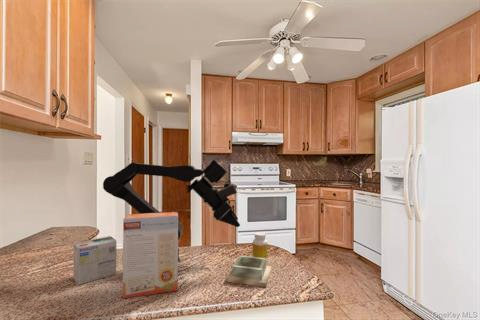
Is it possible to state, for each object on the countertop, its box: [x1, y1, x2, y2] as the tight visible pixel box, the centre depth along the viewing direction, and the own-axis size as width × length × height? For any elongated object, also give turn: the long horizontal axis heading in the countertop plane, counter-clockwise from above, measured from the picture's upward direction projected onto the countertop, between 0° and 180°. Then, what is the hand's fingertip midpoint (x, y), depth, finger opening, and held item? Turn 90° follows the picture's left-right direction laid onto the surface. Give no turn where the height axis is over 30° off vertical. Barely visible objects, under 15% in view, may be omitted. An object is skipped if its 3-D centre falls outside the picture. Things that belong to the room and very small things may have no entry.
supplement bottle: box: [252, 231, 269, 259], centre depth 88 cm, size 5×5×10 cm
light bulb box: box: [73, 235, 117, 286], centre depth 75 cm, size 11×7×11 cm, turn 135°
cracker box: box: [122, 211, 179, 299], centre depth 67 cm, size 14×6×21 cm, turn 106°
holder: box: [225, 254, 272, 288], centre depth 77 cm, size 12×12×4 cm
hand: (238, 222), depth 87 cm, fingers open, 9 cm apart
